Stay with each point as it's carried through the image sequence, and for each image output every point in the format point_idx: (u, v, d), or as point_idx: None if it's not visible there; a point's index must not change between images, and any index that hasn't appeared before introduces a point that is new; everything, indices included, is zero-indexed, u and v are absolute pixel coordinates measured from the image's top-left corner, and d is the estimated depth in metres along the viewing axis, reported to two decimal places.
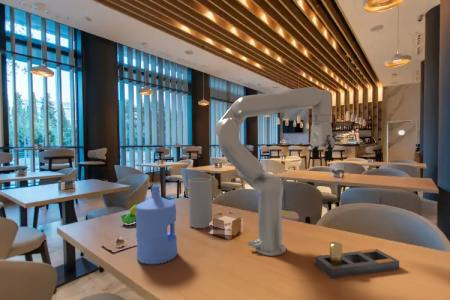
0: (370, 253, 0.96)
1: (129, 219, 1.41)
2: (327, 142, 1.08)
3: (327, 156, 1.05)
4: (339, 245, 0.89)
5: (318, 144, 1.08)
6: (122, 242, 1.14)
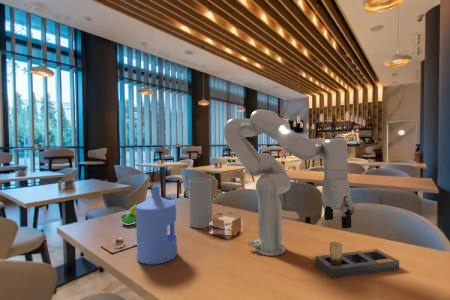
0: (370, 253, 0.96)
1: (129, 219, 1.41)
2: (344, 204, 0.86)
3: (345, 223, 0.84)
4: (339, 245, 0.89)
5: (333, 206, 0.86)
6: (121, 242, 1.13)
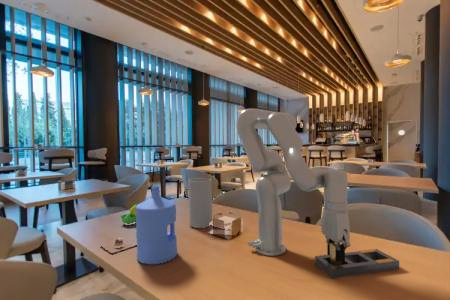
0: (370, 253, 0.96)
1: (129, 219, 1.41)
2: None
3: (339, 256, 0.87)
4: None
5: (332, 238, 0.87)
6: (121, 243, 1.13)
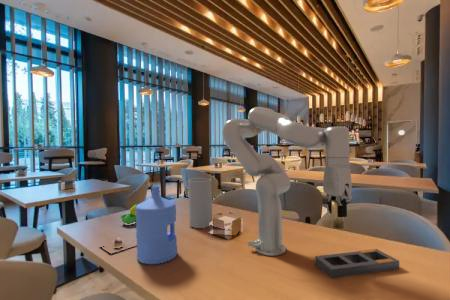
0: (370, 253, 0.96)
1: (129, 219, 1.41)
2: (343, 192, 0.87)
3: (341, 212, 0.86)
4: None
5: (334, 194, 0.87)
6: (120, 243, 1.13)
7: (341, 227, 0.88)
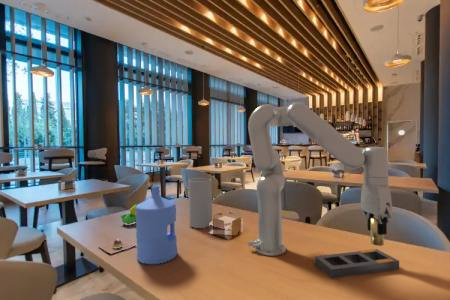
0: (370, 253, 0.96)
1: (129, 219, 1.41)
2: None
3: (381, 230, 0.90)
4: None
5: (374, 212, 0.90)
6: (120, 243, 1.12)
7: (381, 244, 0.91)
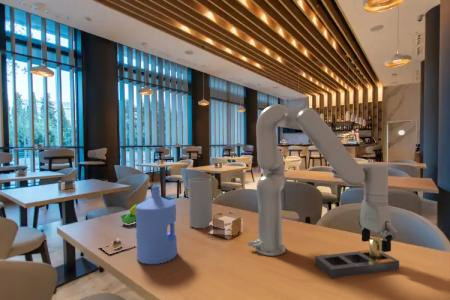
0: None
1: (129, 219, 1.41)
2: (384, 228, 0.90)
3: (385, 247, 0.87)
4: (379, 241, 0.92)
5: (373, 230, 0.90)
6: (119, 244, 1.12)
7: None
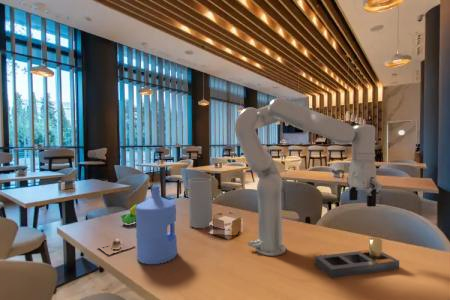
0: None
1: (129, 219, 1.41)
2: (370, 184, 0.94)
3: (370, 201, 0.92)
4: (379, 241, 0.92)
5: (359, 186, 0.94)
6: (118, 244, 1.12)
7: None
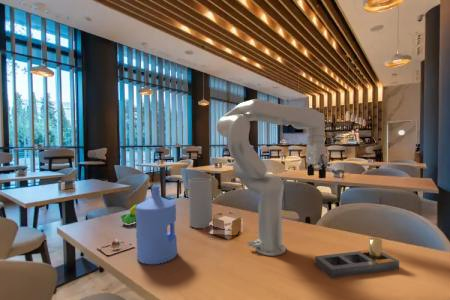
0: None
1: (129, 219, 1.41)
2: (321, 161, 1.16)
3: (321, 174, 1.14)
4: (379, 241, 0.92)
5: (313, 162, 1.17)
6: (118, 244, 1.11)
7: None
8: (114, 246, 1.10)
